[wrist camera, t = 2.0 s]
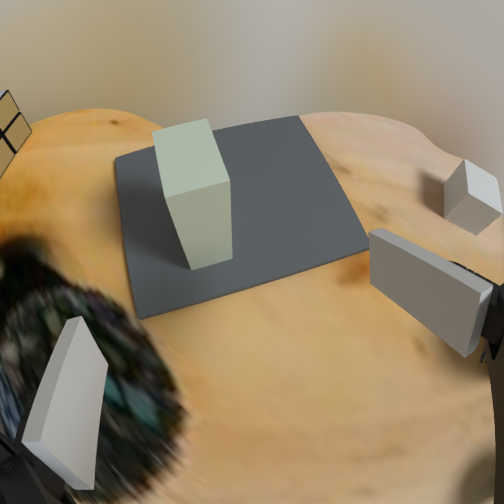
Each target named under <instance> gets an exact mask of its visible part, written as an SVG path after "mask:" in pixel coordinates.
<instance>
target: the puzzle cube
mask: <svg viewBox="0 0 504 504" xmlns="http://www.w3.org/2000/svg"><path fill="white" fill-rule="evenodd" d="M31 132H32V130H31V128H30V127H29V125H28V123H27V122H26V120H25V118H24V117H23V115H22V113H21V112H19V108H18V106H17V105H16V103H15V101H14V99H13V97H12V96H11V94H10V92H9V90H4V91H0V178H1V176H2V175H3V173H4V171H5V170H6V168H7V167H8V165H9V164H10V162H11V160H12V159H13V157H14V156H15V153H17V152H18V150H19V149H20V147H21V146H22V145H23V143H24V142H25V140H26V139H27V138H28V136H29V135H30V134H31Z"/></svg>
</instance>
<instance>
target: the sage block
mask: <svg viewBox="0 0 504 504" xmlns="http://www.w3.org/2000/svg"><path fill="white" fill-rule="evenodd" d="M152 135H153V140H154V146H155V151H156V157H157V162H158V167H159V172H160V177H161V182H162V187H163V192H164V197H165V200H166V203H167V206H168V209H169V211H170V214H171V217H172V220H173V223H174V225H175V228H176V231H177V234H178V236H179V239H180V242H181V244H182V247H183V250H184V252H185V255H186V257H187V260H188V263H189V265H190V268H191V270H195V269H199V268H202V267H206V266H209V265H213V264H216V263H219V262H223V261H226V260H230V259H233V254H232V225H231V191H230V179H229V176H228V173H227V171H226V168H225V165H224V162H223V160H222V157H221V154H220V152H219V149H218V146H217V144H216V141H215V138H214V136H213V133H212V130H211V128H210V125H209V123H208V120H207V119H201V120H197V121H193V122H188V123H184V124H181V125H176V126H173V127H169V128H165V129H161V130H158V131H154V132H152Z"/></svg>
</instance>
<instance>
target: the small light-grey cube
mask: <svg viewBox="0 0 504 504" xmlns="http://www.w3.org/2000/svg"><path fill="white" fill-rule="evenodd" d="M443 186H444V219H446V220H448V221H450V222H452V223H454V224H456V225H458V226H460V227H462V228H463V229H465V230H467V231H469V232H471V233H473V234H475V235H478V234H479V233H480V232H481V231H483V230H484V229H485V228H486V227H487V226H489V225H490V224H491V223H492V222H493V221H495V220H496V219H497V218H498V217H499V216H500V215H502V207H501V199H500V193H499V187H498V182H497V178H495V177H494V176H492V175H490V174H489V173H487V172H486V171H484V170H482V169H481V168H479V167H478V166H476V165H474V164H473V163H471V162H469V161H468V160H466V159H464V160H463V161H462V163H461V164H460V165H459V166H458V168H457V169H456V170H455V171H454V172H453V174H452V175H451V176H450V177H449V179H448V180H447V181H446V182H445V183H444V184H443Z"/></svg>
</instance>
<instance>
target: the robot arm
mask: <svg viewBox="0 0 504 504" xmlns="http://www.w3.org/2000/svg"><path fill="white" fill-rule="evenodd" d="M369 253H370V284H371V285H373V286H374V287H375V288H377V289H378V290H379V291H381V292H382V293H383V294H385V295H386V296H387V297H388V298H390V299H391V300H392V301H394V302H395V303H396V304H398V305H399V306H400V307H401V308H403V309H404V310H405V311H407V312H408V313H409V314H411V315H412V316H413V317H414V318H416V319H417V320H418V321H419V322H421V323H422V324H423V325H424V326H426V327H427V328H428V329H430V330H431V331H432V332H433V333H435V334H436V335H437V336H438V337H440V338H441V339H442V340H443V341H444V342H446V343H447V344H448V345H449V346H451V347H452V348H453V349H454V350H455V351H457V352H458V353H459V354H460V355H462V356H463V357H464V358H466V357H467V356H468V355H470V354H471V353H472V352H473V351H475V350H476V349H477V347H478V344H479V341H480V337H481V336H482V337H484V338H485V339H486V342H485V345H484V348H483V351H482V354H481V357H480V363H482V362H483V359H484V356H485V355H486V358H487V359H486V363H487V364H488V370H489V376H490V383H491V391H492V399H493V409H494V422H495V441H496V474H495V493H494V504H504V283H503V284H502V285H501V286H499V285H497V284H496V283H494V282H492V281H490V280H488V279H487V278H485V277H483V276H481V275H479V274H478V273H474V271H472V270H470V269H467V268H466V267H464V266H463V265H461V264H459V263H456V262H452V261H448V260H446V259H444V258H442V257H440V256H438V255H436V254H434V253H432V252H430V251H428V250H426V249H424V248H422V247H420V246H418V245H416V244H414V243H412V242H410V241H408V240H406V239H404V238H402V237H400V236H398V235H395V234H393V233H391V232H389V231H387V230H385V229H383V228H379V229H376V230H373V231H370V232H369ZM107 368H108V364H107V362H106V360H105V358H104V357H103V355H102V353H101V351H100V350H99V348H98V346H97V344H96V342H95V341H94V339H93V337H92V335H91V333H90V331H89V329H88V327H87V325H86V324H85V322H84V320H83V318H82V316H79V317H76V318H72V319H68V320H67V321H66V324H65V326H64V328H63V330H62V332H61V335H60V337H59V339H58V341H57V344H56V346H55V348H54V351H53V353H52V355H51V358H50V360H49V363H48V365H47V368H46V370H45V373H44V375H43V378H42V380H41V383H40V386H39V388H36V389H35V390H34V392H33V393H32V394H31V396H30V397H29V398H28V401H27V404H26V406H25V411H24V412H23V415H22V419H21V421H20V424H19V427H18V430H17V434H16V437H15V440H14V444H13V445H12V444H11V443H10V442H9V440H8V439H7V438H6V437H5V436H4V435H3V434H2V433H1V432H0V504H76V502H75V501H74V500H73V498H72V497H71V496H70V494H69V493H67V492H66V491H65V490H64V484H65V482H66V483H67V484H69V485H70V486H71V487H73V488H74V489H75V490H92V489H94V476H95V461H96V449H97V439H98V430H99V421H100V413H101V406H102V399H103V392H104V386H105V380H106V374H107Z"/></svg>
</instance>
